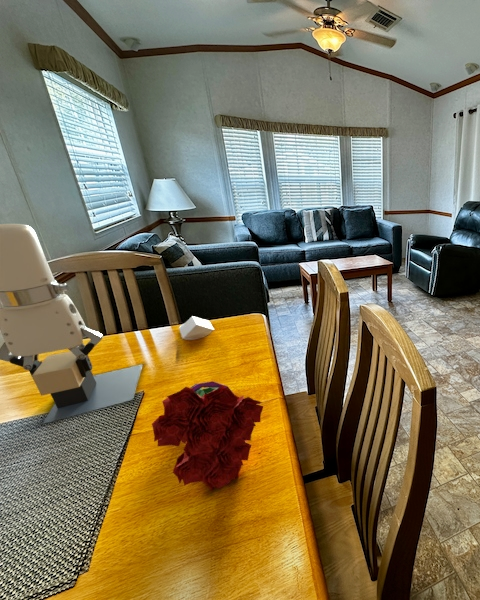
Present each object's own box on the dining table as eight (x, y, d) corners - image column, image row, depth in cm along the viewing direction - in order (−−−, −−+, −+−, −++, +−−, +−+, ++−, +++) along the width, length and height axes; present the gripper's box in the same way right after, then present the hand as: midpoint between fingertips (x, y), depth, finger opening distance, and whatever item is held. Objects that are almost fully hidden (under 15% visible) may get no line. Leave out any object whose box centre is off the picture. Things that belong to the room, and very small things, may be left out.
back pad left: (57, 408, 76) (49, 392, 74) (68, 390, 82) (61, 375, 81) (88, 400, 78) (81, 385, 77) (96, 383, 85) (90, 368, 83)
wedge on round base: (216, 338, 109) (208, 325, 118) (212, 320, 106) (204, 308, 116) (185, 347, 104) (179, 332, 113) (180, 328, 101) (174, 315, 111)
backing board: (43, 427, 72) (41, 424, 71) (69, 384, 86) (68, 381, 86) (134, 403, 79) (132, 399, 79) (143, 367, 94) (142, 364, 93)
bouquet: (234, 411, 85) (280, 460, 63) (158, 446, 75) (181, 519, 52) (213, 341, 81) (254, 367, 59) (130, 367, 70) (141, 410, 48)
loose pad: (41, 395, 61) (31, 375, 60) (55, 374, 68) (47, 355, 66) (79, 387, 64) (71, 367, 62) (90, 367, 70) (83, 348, 69)
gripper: (96, 281, 66) (123, 358, 73) (-29, 295, 58) (14, 380, 65) (86, 292, 60) (116, 375, 67) (-56, 310, 52) (-5, 402, 59)
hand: (66, 377), depth 66 cm, fingers closed on loose pad, 5 cm apart
